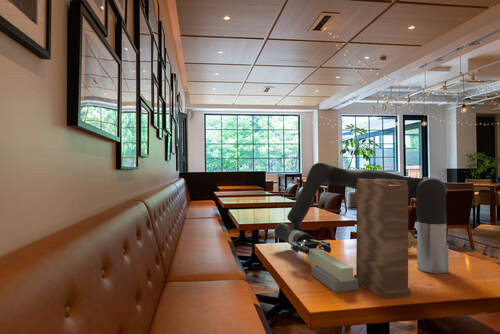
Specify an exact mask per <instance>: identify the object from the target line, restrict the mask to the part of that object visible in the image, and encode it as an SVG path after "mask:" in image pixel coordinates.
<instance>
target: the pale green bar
mask: <svg viewBox="0 0 500 334" xmlns="http://www.w3.org/2000/svg"><path fill="white" fill-rule="evenodd" d="M306 256H307V258H306V259H307V261H308V262H310V263H311V264H313V265H314V266H318V267H319V268H321V269H322V270H324V271H325V272H327V273H328V274H330V275H331V276H333V277H334V278H336V279H337V280H339V281H340V282H346V281H353V277H354V267H353V266H351V265H349V264H347V263H345V262H344V261H341V260H340V259H339V258H336V257H334V256H332V255H331V254H330V253H328V252H326V251H324V250H320V249H318V247H317V248H313V249H309V254H306Z"/></svg>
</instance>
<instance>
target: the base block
mask: <svg viewBox="0 0 500 334" xmlns="http://www.w3.org/2000/svg"><path fill="white" fill-rule="evenodd" d="M310 269H311V276H312V275H313V276H312V277H314V278H315V279H317V280H318V281H319V282H321V283H322V284H324V285H325V286H326V287H327V288H329V289H330V290H332V291H333V292H334V293H339V292H349V291H356V290H357V291H358V290H359V284H358V279H357V278H355V277H354V276H353V281H346V282H340V281H339V280H337V279H336V278H334V277H333V276H331V275H330V274H328V273H327V272H325V271H324V270H322V269H321V268H319V267H318V266H316V265H311V268H310Z"/></svg>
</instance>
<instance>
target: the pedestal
mask: <svg viewBox="0 0 500 334" xmlns="http://www.w3.org/2000/svg"><path fill="white" fill-rule="evenodd" d="M408 231H409V196H408V185H407V180H392V179H374V180H371V179H358V183H357V190H356V243H355V244H356V254H355V255H356V256H355V257H356V259H355V261H356V265H355V266H356V272H355V273H356V274H353V277H355V278H357V279H358V285H360V286H362V287H364V288H365V289H367V290H369V291H370V292H371V293H374V294H375V295H377V296H378V297H381V298H382V299H383V300H388V299H394V298H395V299H396V298H397V299H398V298H403V297H412V296H411V295H412V289H411V288H410V287H409V249H408Z"/></svg>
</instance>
